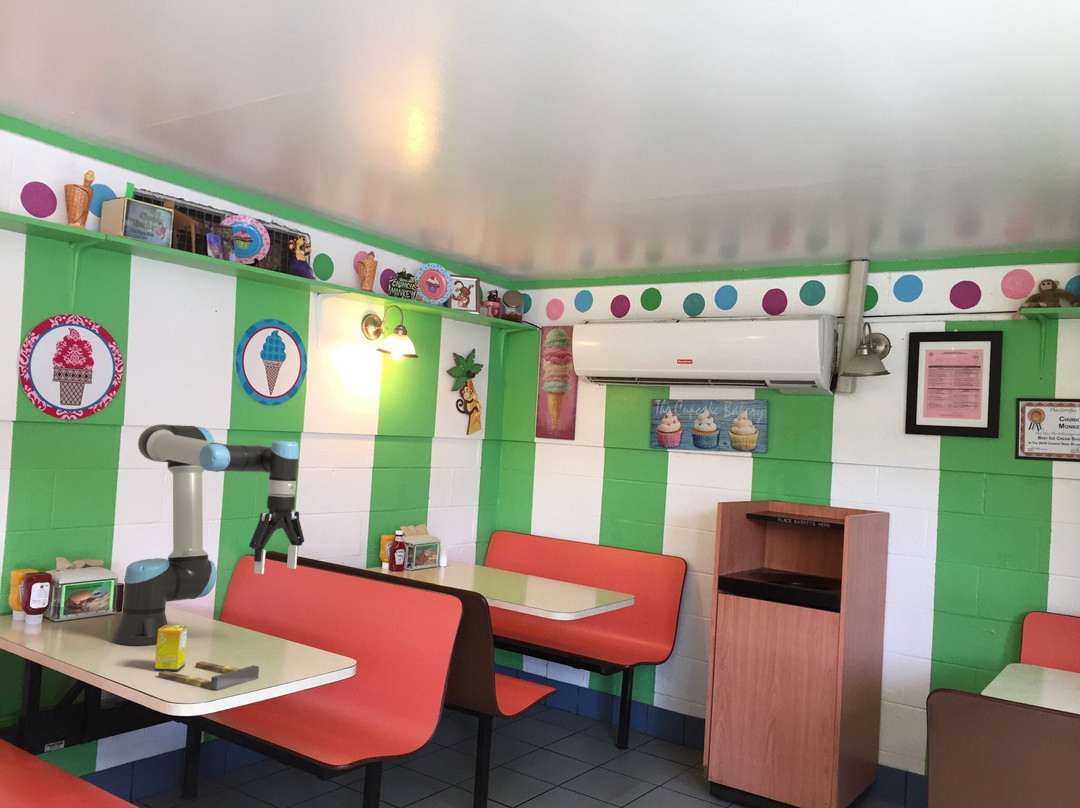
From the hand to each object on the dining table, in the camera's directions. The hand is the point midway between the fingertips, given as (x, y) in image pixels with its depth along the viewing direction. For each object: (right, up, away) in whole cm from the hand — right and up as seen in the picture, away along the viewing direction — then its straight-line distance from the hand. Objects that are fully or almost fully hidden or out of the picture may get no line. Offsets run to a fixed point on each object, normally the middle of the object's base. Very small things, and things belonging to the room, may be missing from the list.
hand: (275, 570), depth 241 cm
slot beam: (-11, -23, -22) cm, 34 cm away
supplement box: (-23, -23, -16) cm, 36 cm away
